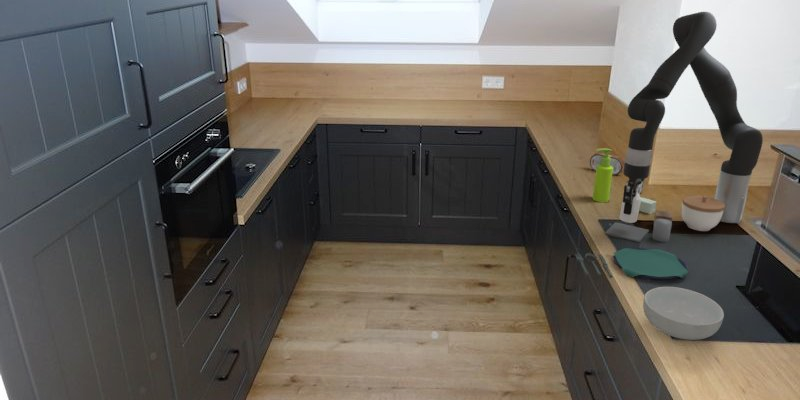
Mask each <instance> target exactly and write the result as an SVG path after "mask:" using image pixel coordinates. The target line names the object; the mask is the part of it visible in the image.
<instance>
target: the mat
mask: <svg viewBox="0 0 800 400" xmlns="http://www.w3.org/2000/svg"><path fill="white" fill-rule="evenodd" d="M648 233H650V230H649V229H646V228H642V227H638V226H634V225H628V224H625V223H621V222H620V223H619V222H616V221H615V222H614V223H613V224H612V225H611V226H610V227H609V228H608V229H607V230H606V231H605V232H604V234H605V235H606V236H611V237H615V238H619V239H622V240H627V241H631V242H636V243H641V242H642V240H643V239H644V238H645V237H646V236H647V235H648Z"/></svg>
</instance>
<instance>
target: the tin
mask: <svg viewBox="0 0 800 400" xmlns="http://www.w3.org/2000/svg"><path fill="white" fill-rule="evenodd" d="M604 153H605V152H602V151H600V152H596V153H594V154H592V156H591V157H590V158H589V166H590V168H591V169H592V170H593V171H595V172H596V168H597V165H601V158H602V157H603V156H604ZM609 157H610V158H611V162H610V166H612V167H613V173H612V176H617V175H618V176H619V174H621V173H623V172H624V166H625V160H623V158H622V157H620V156H618V155H614V154H610V153H609Z"/></svg>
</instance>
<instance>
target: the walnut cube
mask: <svg viewBox="0 0 800 400" xmlns="http://www.w3.org/2000/svg"><path fill="white" fill-rule="evenodd" d="M656 219H667V220H670V221H671V222H672V221H673V212H672V211H671V212H670V211H663V210H656V209H655V212H654V217H653V224H654V223H655V220H656ZM672 223H673V222H672Z"/></svg>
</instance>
